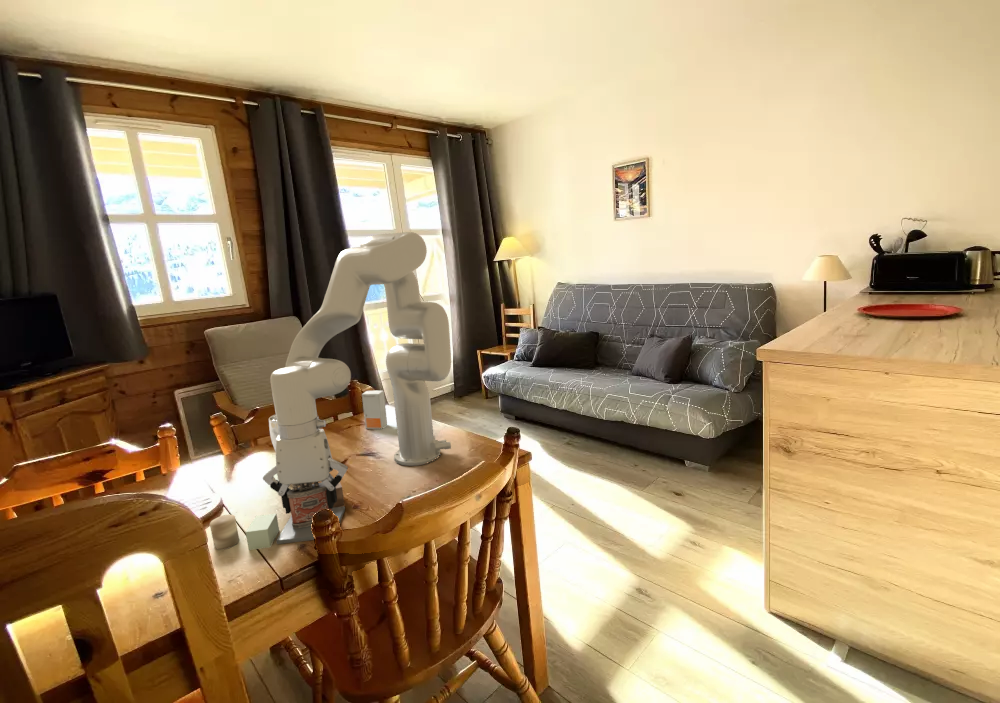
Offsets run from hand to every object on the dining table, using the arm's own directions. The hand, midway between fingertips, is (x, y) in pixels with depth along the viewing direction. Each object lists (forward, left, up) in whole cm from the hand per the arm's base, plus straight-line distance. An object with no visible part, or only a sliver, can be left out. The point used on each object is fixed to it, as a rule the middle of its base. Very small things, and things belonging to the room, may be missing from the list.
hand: (311, 507), depth 101 cm
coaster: (0, 0, -4) cm, 4 cm away
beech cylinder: (+16, +3, -4) cm, 17 cm away
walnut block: (-2, -9, -4) cm, 10 cm away
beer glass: (+14, -31, -4) cm, 34 cm away
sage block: (+7, +3, -2) cm, 8 cm away
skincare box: (-5, -59, -4) cm, 59 cm away
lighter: (0, 0, -3) cm, 3 cm away
